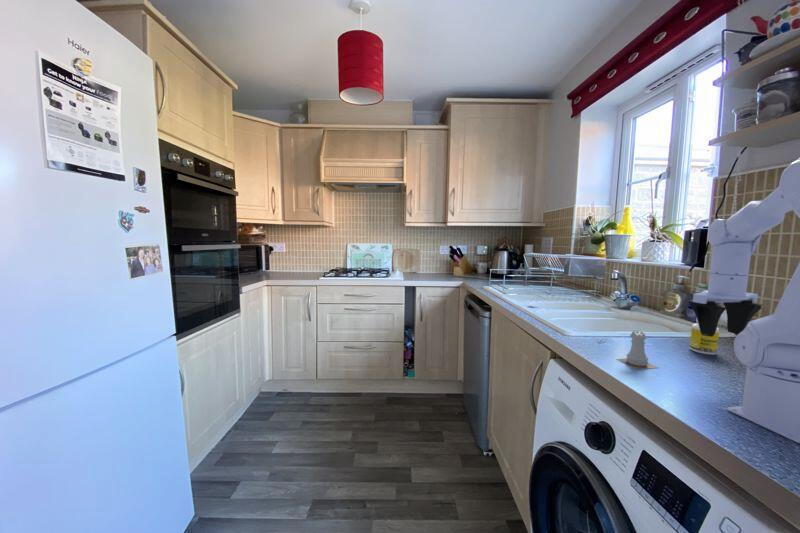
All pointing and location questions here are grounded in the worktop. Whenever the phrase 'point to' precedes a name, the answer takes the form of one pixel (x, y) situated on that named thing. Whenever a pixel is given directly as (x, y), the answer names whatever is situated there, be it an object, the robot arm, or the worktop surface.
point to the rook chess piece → (637, 350)
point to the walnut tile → (637, 366)
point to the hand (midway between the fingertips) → (721, 333)
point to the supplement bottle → (703, 341)
